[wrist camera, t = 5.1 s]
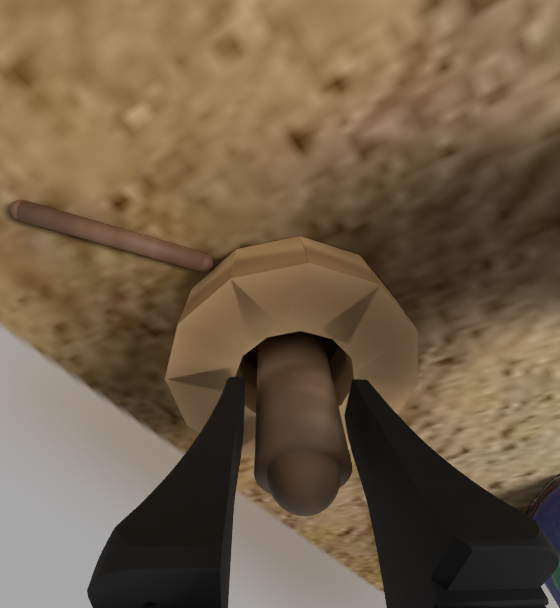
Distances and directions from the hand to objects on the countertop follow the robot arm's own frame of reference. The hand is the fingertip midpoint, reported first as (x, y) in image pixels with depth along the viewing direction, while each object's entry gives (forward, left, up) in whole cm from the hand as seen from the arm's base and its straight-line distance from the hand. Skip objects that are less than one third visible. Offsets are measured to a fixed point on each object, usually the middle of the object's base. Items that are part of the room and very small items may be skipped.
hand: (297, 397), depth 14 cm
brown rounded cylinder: (0, 0, -4) cm, 4 cm away
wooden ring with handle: (+4, 0, -4) cm, 5 cm away
